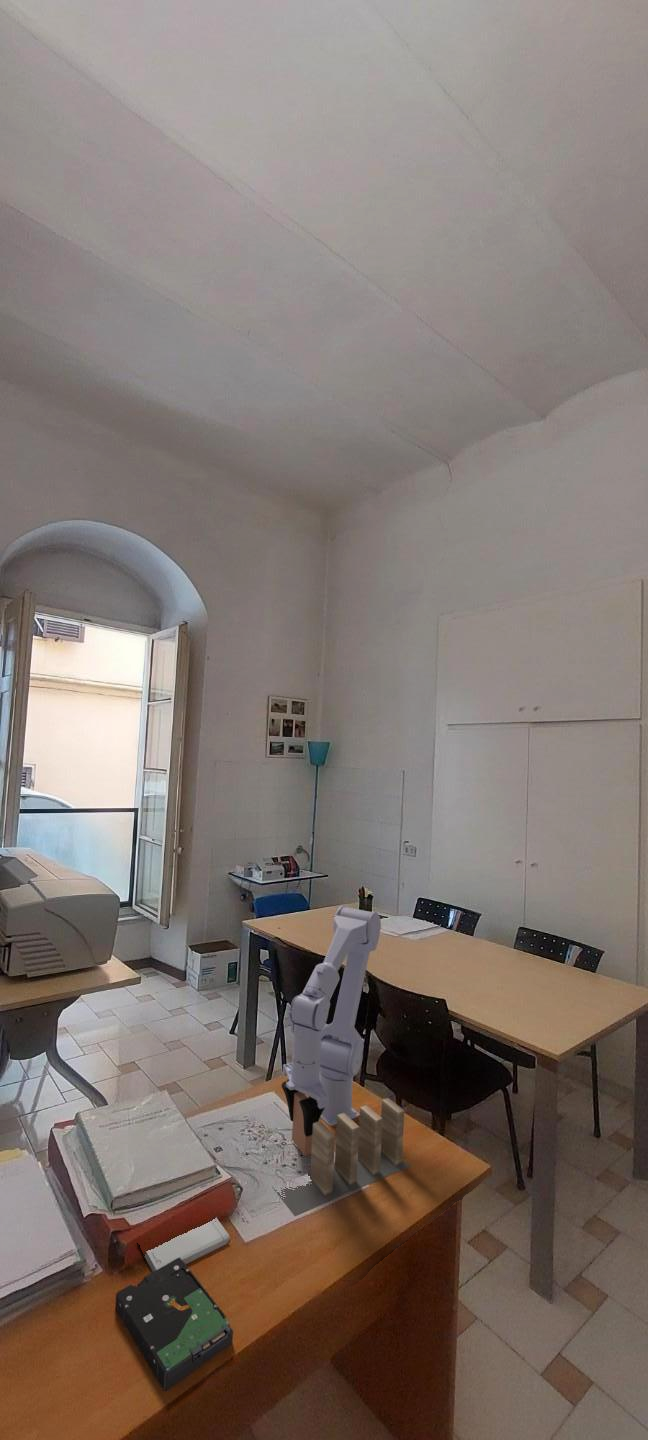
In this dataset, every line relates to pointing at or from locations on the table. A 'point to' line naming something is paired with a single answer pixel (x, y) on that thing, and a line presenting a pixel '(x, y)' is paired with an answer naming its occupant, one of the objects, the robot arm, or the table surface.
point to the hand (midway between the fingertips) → (302, 1126)
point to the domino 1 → (300, 1126)
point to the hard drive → (189, 1245)
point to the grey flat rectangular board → (335, 1187)
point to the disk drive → (173, 1322)
